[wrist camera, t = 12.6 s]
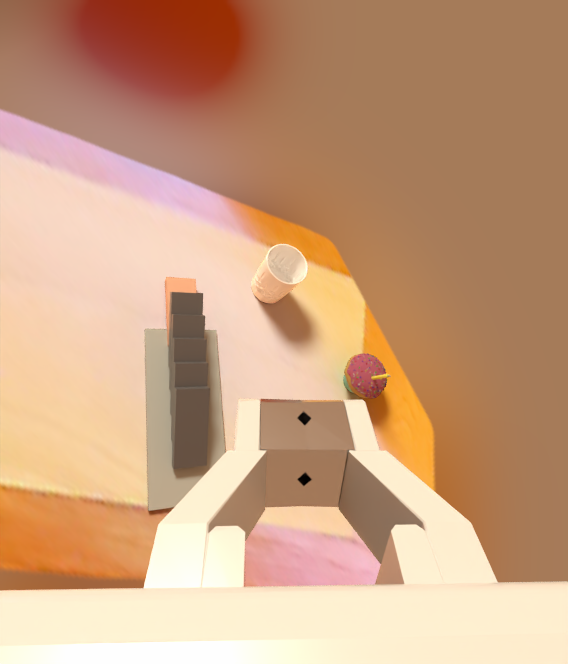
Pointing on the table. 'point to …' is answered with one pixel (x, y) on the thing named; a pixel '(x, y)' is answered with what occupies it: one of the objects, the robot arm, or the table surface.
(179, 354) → the domino
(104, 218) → the table surface
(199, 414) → the domino
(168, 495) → the felt strip
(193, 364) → the domino
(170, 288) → the domino
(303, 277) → the white cup
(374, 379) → the cupcake
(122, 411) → the table surface
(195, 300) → the domino
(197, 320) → the domino
